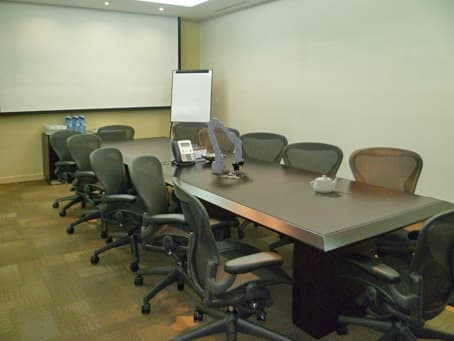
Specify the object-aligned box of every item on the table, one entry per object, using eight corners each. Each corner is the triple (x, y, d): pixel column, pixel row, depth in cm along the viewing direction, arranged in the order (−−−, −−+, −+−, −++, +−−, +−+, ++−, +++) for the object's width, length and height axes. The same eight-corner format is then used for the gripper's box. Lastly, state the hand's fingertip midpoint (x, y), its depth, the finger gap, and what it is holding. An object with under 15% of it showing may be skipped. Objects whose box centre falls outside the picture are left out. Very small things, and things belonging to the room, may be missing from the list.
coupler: (234, 173, 326) (234, 165, 325) (237, 172, 329) (237, 165, 328) (239, 173, 324) (239, 166, 322) (241, 172, 327) (241, 165, 326)
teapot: (316, 195, 257) (316, 178, 255) (304, 190, 270) (305, 174, 268) (344, 192, 265) (345, 175, 263) (332, 187, 278) (333, 172, 275)
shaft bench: (218, 177, 312) (218, 170, 310) (227, 173, 323) (227, 167, 322) (237, 179, 303) (237, 172, 302) (246, 176, 315) (246, 169, 314)
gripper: (238, 156, 315) (238, 173, 318) (246, 153, 327) (246, 170, 330) (230, 155, 319) (230, 172, 321) (239, 153, 331) (239, 169, 334)
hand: (238, 171), depth 326 cm, fingers open, 7 cm apart
